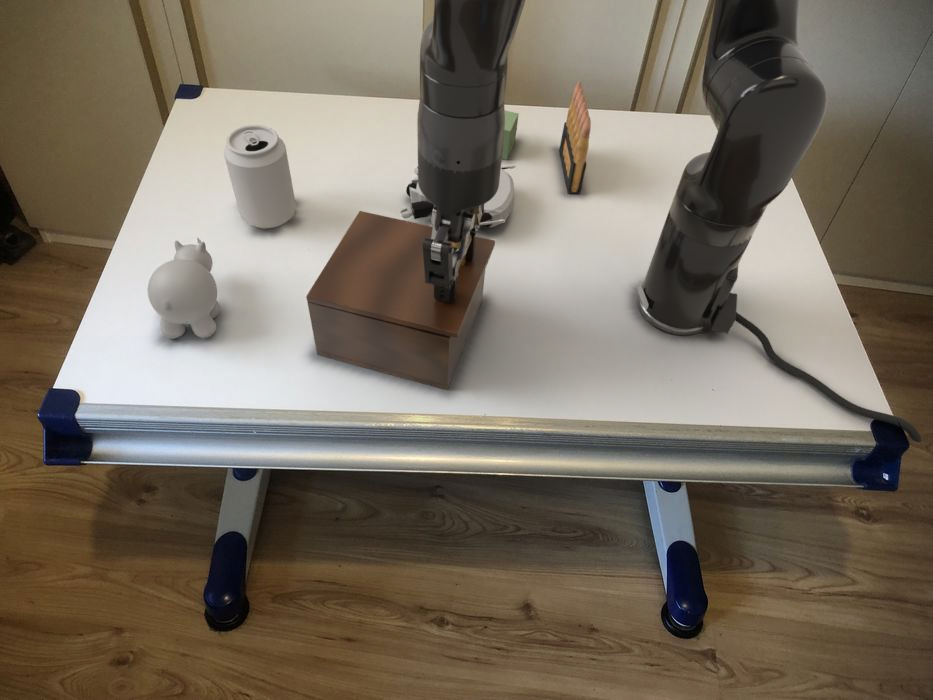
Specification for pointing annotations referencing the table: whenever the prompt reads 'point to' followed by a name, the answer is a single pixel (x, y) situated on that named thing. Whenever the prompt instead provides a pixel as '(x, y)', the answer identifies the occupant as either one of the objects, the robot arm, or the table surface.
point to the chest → (391, 343)
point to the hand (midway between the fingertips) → (454, 277)
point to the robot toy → (493, 209)
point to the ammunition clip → (575, 141)
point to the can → (260, 176)
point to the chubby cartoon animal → (185, 292)
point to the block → (509, 133)
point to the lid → (396, 276)
